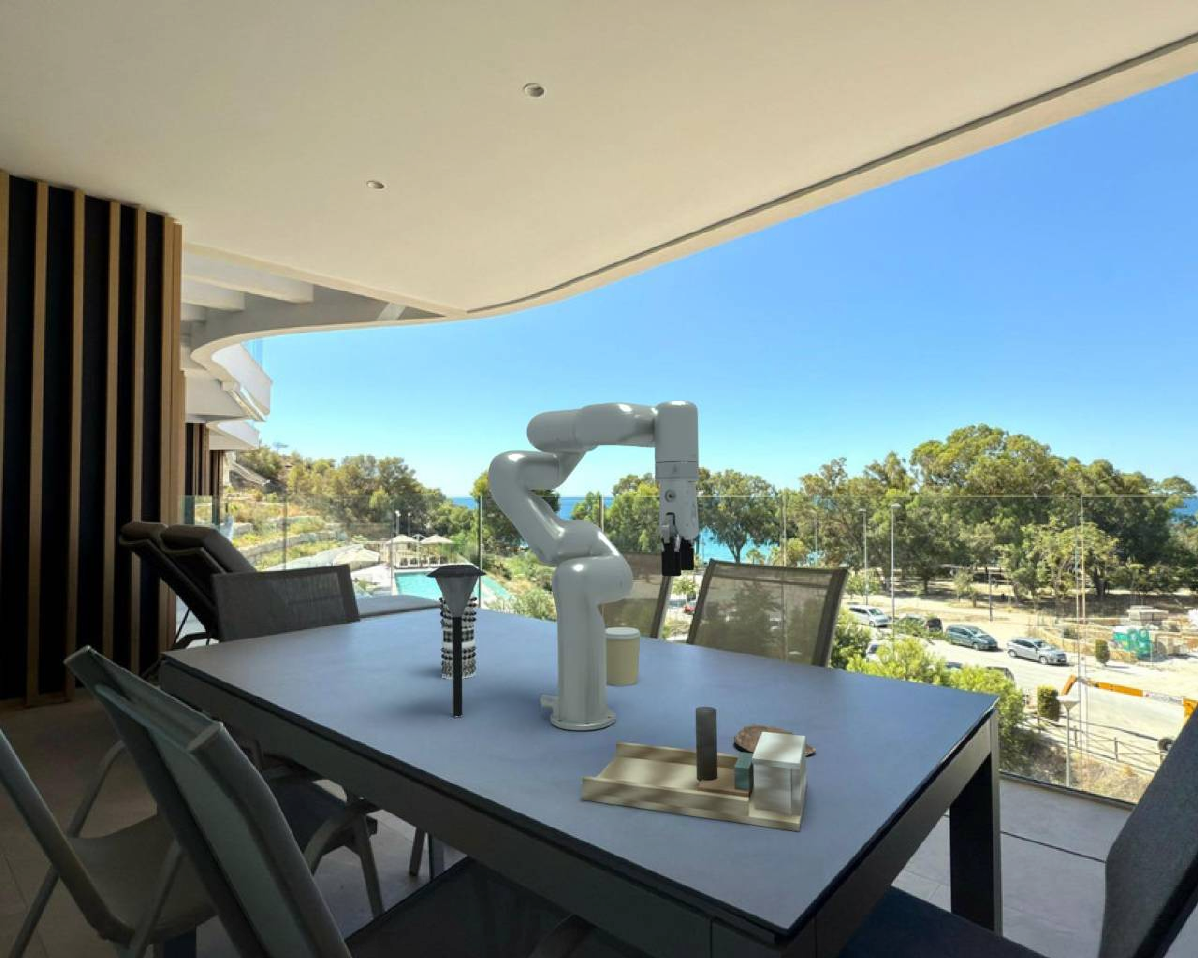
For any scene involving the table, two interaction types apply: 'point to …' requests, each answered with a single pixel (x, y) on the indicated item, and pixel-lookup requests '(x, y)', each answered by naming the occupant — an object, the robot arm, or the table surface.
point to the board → (673, 782)
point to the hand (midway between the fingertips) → (678, 572)
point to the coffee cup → (622, 655)
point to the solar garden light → (457, 614)
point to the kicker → (706, 760)
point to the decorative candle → (467, 639)
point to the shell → (751, 736)
